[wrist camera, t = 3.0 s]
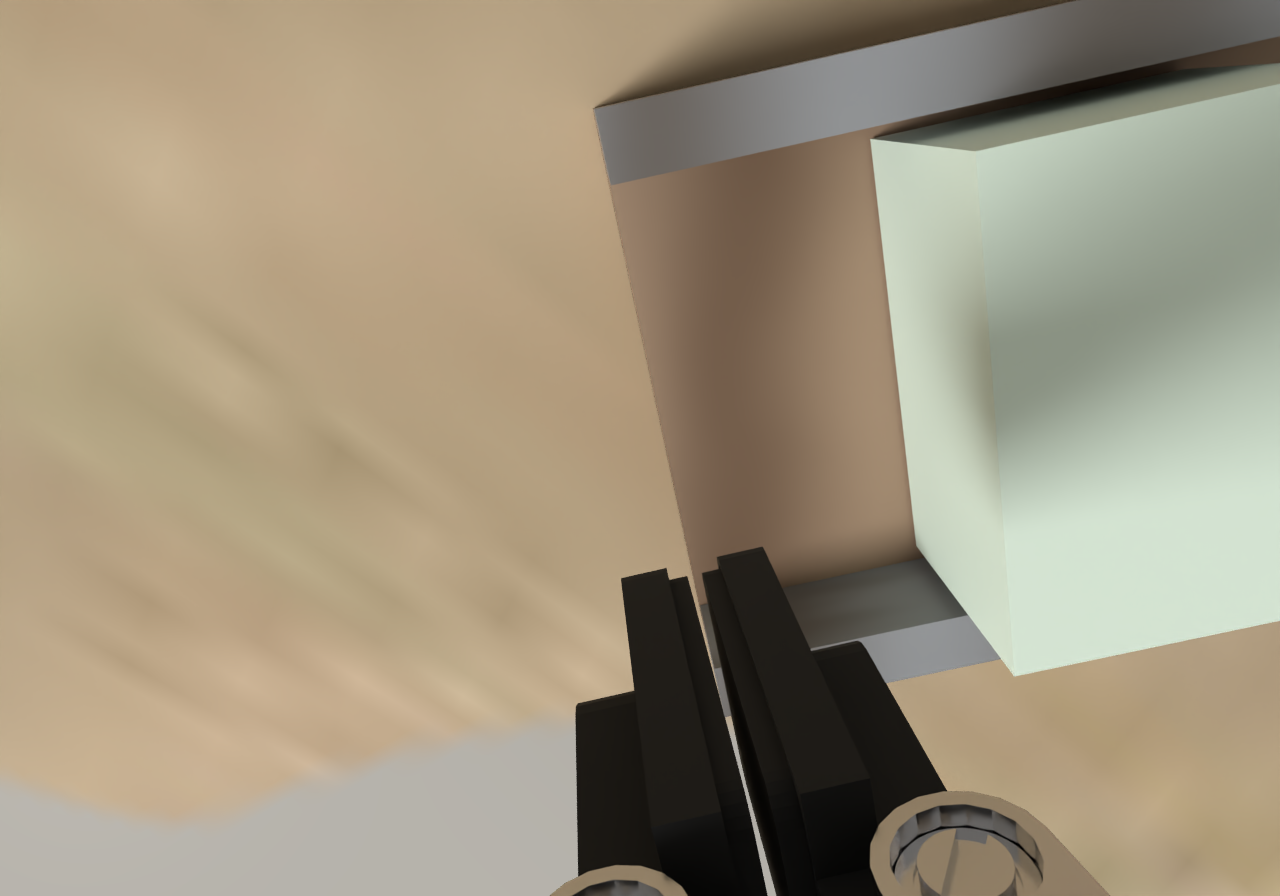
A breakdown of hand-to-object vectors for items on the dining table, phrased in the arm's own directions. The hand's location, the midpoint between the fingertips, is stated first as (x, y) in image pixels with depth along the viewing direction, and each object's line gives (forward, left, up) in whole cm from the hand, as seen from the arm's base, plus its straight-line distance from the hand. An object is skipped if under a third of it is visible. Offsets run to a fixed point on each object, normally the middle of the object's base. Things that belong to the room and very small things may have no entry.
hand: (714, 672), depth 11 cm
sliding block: (-8, 0, -9) cm, 12 cm away
